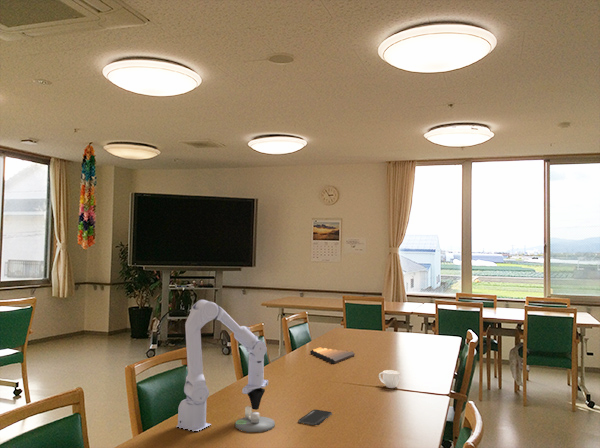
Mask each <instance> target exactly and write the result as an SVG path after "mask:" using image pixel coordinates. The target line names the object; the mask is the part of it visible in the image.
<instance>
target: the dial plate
mask: <svg viewBox="0 0 600 448" xmlns="http://www.w3.org/2000/svg"><path fill="white" fill-rule="evenodd" d="M234 424H235V425H234V426H235V427H236V428H238V429H239V430H238V429H237V430H238V431H240V430H242V431H241V432H243V431H246V432H245V433H249V432H259V433H264V432H263V431H265V432H268V430H269V431H271V430H273V429H274V428H275V427H276V426H275V424H276V423H275V420H274V419H273V418H271V417H266V416H261V415H259V423H251V420H250V419H248V418H245V416H244V417H241V418H238V419H237V420H236V421H235V423H234ZM235 427H234V428H235ZM236 428H235V429H236ZM272 428H273V429H272Z"/></svg>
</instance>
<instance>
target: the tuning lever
mask: <svg viewBox="0 0 600 448" xmlns="http://www.w3.org/2000/svg"><path fill="white" fill-rule="evenodd" d="M244 407H245V409H244V411H245V412H244V417H245V418H248V419H250V420H251V423H259V416H260V412H258V411H253V409H252V406H250V405H247V406H244Z"/></svg>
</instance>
